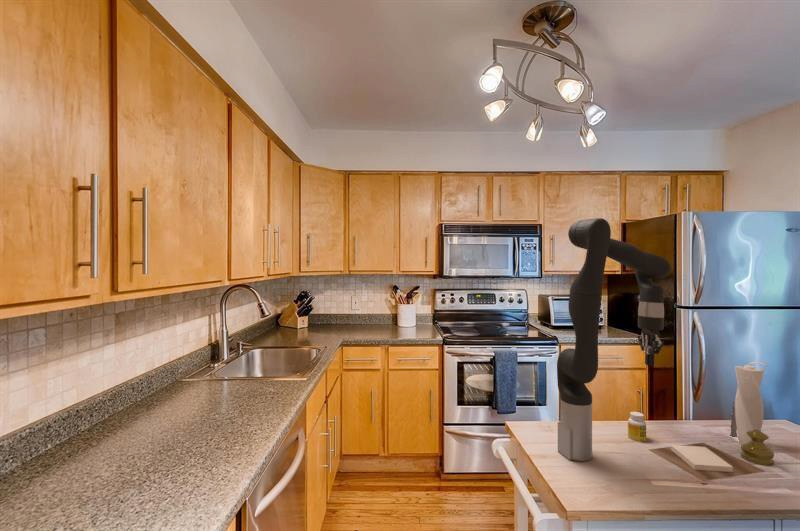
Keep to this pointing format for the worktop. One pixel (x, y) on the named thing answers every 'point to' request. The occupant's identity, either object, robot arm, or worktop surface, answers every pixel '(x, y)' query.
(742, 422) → the skyscraper
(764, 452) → the brass knob
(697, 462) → the tile
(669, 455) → the board
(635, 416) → the supplement bottle
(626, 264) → the robot arm
